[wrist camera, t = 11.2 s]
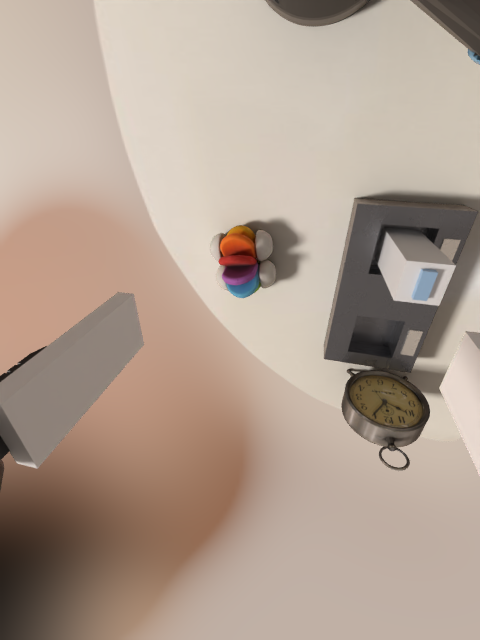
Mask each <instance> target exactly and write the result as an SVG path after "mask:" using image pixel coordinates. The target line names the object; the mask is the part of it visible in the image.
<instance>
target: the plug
mask: <svg viewBox="0 0 480 640" xmlns="http://www.w3.org/2000/svg"><path fill="white" fill-rule="evenodd" d="M375 259H376V262H377V264H378V266H379V268H380V271H381V273H382V275H383V277H384V280H385V282H386V284H387V286H388V289H389V291H390V293H391V296H392V298H393V300H394V301H402V302H411V303H419V304H428V305H436V306H439V305H440V303H441V300H442V298H443V296H444V293H445V291H446V289H447V286H448V284H449V281H450V279H451V277H452V274H453V272H454V270H455V267H456V265H455V264H454V263H453V262H452V261H451V260H450V259H449V258H448V257H447V256H446V255H445V254H444V253H443V252H442V251H440V250H439V249H438V248H437V247H436V246H435V245H434V244H433V243H432V242H431V241H430V240H429V239H428V238H427V237H426V236H425V235H424V234H423V233H422V232H420V231H419V230H411V229H398V228H385V227H384V228H383V232H382V235H381V239H380V243H379V247H378V250H377V254H376V258H375Z"/></svg>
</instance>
